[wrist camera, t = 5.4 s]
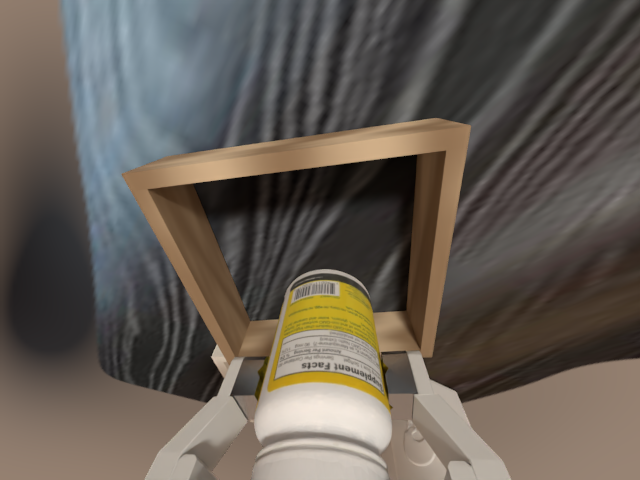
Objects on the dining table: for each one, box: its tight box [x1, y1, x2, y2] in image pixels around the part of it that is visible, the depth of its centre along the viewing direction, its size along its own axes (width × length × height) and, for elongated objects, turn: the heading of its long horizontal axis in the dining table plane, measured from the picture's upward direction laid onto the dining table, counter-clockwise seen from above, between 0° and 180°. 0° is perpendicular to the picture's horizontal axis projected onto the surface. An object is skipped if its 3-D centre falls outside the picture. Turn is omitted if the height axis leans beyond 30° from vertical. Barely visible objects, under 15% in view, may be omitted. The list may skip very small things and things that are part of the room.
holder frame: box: [122, 118, 471, 366], centre depth 15 cm, size 15×15×4 cm
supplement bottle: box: [251, 269, 392, 480], centre depth 10 cm, size 5×5×8 cm
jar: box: [381, 379, 471, 480], centre depth 21 cm, size 9×8×12 cm
